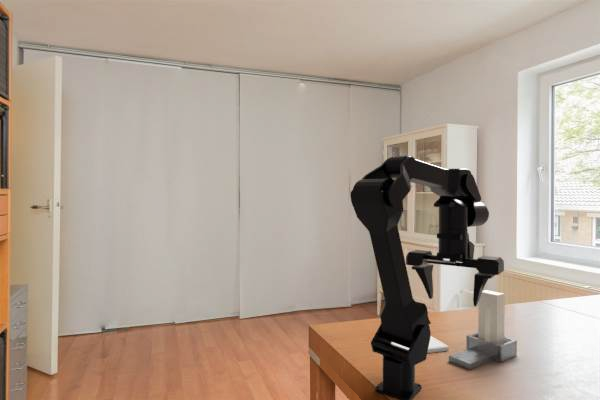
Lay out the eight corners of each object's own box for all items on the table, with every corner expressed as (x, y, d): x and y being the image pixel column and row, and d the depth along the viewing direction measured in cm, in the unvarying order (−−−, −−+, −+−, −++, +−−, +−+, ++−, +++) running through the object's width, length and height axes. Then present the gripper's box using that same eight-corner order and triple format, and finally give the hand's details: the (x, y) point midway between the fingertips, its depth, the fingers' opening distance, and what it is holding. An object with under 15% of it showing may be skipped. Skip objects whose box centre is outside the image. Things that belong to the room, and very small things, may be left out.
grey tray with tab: (476, 372, 80) (477, 355, 80) (442, 358, 86) (442, 343, 86) (518, 355, 89) (518, 339, 89) (484, 343, 95) (484, 329, 95)
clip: (496, 352, 87) (497, 295, 87) (478, 345, 91) (478, 291, 91) (504, 349, 89) (504, 293, 89) (485, 343, 92) (486, 289, 92)
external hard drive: (448, 353, 91) (400, 358, 88) (428, 340, 99) (382, 345, 96) (448, 346, 91) (400, 351, 88) (428, 334, 99) (382, 338, 96)
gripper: (509, 228, 84) (509, 301, 84) (423, 224, 96) (423, 288, 96) (497, 232, 75) (497, 313, 76) (405, 227, 87) (404, 297, 87)
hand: (452, 301), depth 84 cm, fingers open, 9 cm apart
